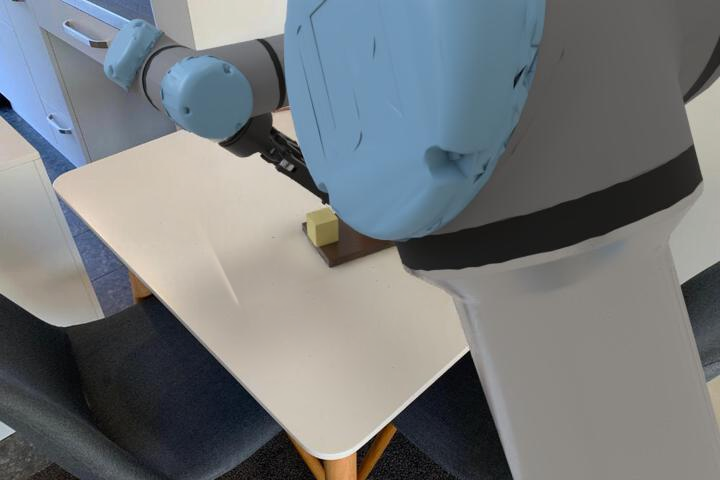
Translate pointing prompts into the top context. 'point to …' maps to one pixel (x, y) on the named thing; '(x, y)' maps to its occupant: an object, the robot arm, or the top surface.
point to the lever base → (348, 245)
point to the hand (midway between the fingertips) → (344, 192)
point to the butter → (322, 227)
